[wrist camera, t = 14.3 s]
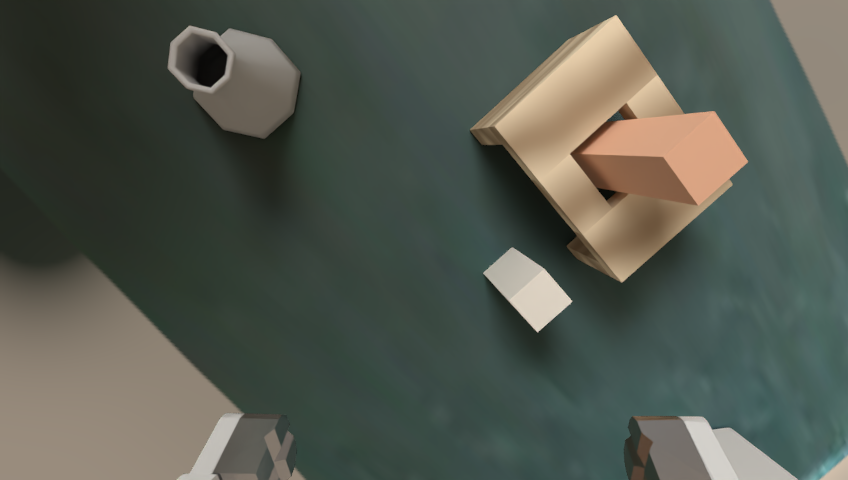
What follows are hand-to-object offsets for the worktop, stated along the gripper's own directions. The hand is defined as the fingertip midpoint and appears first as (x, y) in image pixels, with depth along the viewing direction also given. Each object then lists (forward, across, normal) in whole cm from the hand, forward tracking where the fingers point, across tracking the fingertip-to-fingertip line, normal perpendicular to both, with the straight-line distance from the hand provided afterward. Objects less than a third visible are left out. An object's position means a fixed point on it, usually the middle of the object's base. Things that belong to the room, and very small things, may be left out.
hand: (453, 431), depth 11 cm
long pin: (+29, -9, +4) cm, 31 cm away
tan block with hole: (+29, -9, +4) cm, 31 cm away
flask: (+26, +15, -4) cm, 30 cm away
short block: (+25, -4, +12) cm, 28 cm away
